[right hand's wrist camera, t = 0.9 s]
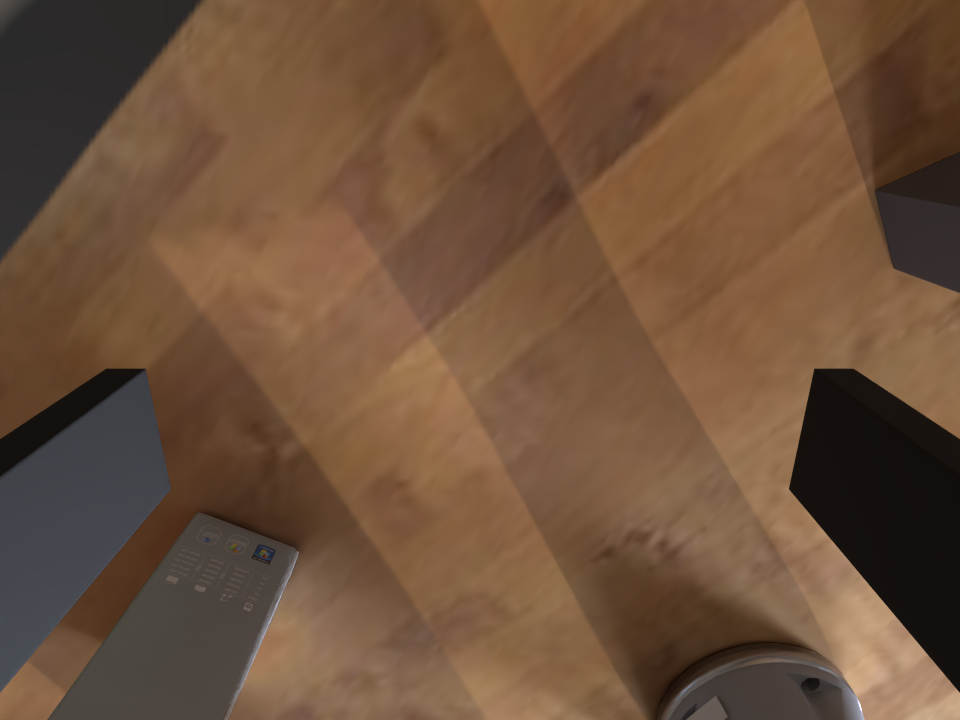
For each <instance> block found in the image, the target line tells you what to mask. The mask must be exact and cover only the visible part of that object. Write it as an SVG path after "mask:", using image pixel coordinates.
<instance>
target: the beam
mask: <svg viewBox="0 0 960 720" xmlns="http://www.w3.org/2000/svg"><path fill="white" fill-rule="evenodd" d="M875 193H876V197H877V201H878V205H879V210H880V214H881V218H882V222H883V226H884V230H885V235H886V239H887V243H888V247H889V251H890V255H891V259H892V264H893V268H894V269H896V270H899V271H901V272H904V273H907V274H909V275H912V276H915V277H918V278H920V279H923V280H926V281H928V282H931V283H934V284H936V285H939V286H942V287H945V288H947V289H950V290H953V291H955V292H958V293H960V152H959V153H956V154H954V155H952V156H950V157H948V158H945V159H943V160H941V161H939V162H936V163H934V164H932V165H930V166H928V167H925V168H923V169H921V170H919V171H916V172H914V173H912V174H910V175H907V176H905V177H903V178H901V179H899V180H896V181H894V182H892V183H890V184H887V185H885V186H883V187H881V188H879V189H876V190H875Z"/></svg>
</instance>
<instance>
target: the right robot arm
mask: <svg viewBox="0 0 960 720" xmlns="http://www.w3.org/2000/svg"><path fill="white" fill-rule="evenodd" d="M170 490H171V487H170V482H169V477H168V472H167V468H166V463H165V458H164V454H163V449H162V444H161V439H160V435H159V430H158V425H157V420H156V416H155V411H154V406H153V402H152V397H151V392H150V387H149V383H148V378H147V373H146V369H105V370H104V371H102V372H101V373H99V374H98V375H96V376H95V377H93V378H92V379H90V380H89V381H87V382H86V383H84V384H83V385H81V386H80V387H78V388H77V389H75V390H74V391H72V392H71V393H69V394H68V395H66V396H65V397H63V398H62V399H60V400H59V401H57V402H56V403H54V404H53V405H51V406H50V407H48V408H47V409H45V410H44V411H42V412H41V413H39V414H38V415H36V416H34V417H33V418H31V419H30V420H28V421H27V422H25V423H24V424H22V425H21V426H19V427H18V428H16V429H15V430H13V431H12V432H10V433H9V434H7V435H6V436H4V437H3V438H1V439H0V692H1V691H2V690H3V689H4V687H5V686H6V685H7V684H8V683H9V682H10V680H11V679H12V678H13V677H14V676H15V674H16V673H17V672H18V671H19V670H20V668H21V667H22V666H23V665H24V664H25V662H26V661H27V660H28V659H29V658H30V657H31V655H32V654H33V653H34V652H35V651H36V649H37V648H38V647H39V646H40V645H41V643H42V642H43V641H44V640H45V639H46V637H47V636H48V635H49V634H50V633H51V631H52V630H53V629H54V628H55V627H56V626H57V624H58V623H59V622H60V621H61V620H62V618H63V617H64V616H65V615H66V614H67V612H68V611H69V610H70V609H71V608H72V606H73V605H74V604H75V603H76V602H77V601H78V599H79V598H80V597H81V596H82V595H83V593H84V592H85V591H86V590H87V589H88V587H89V586H90V585H91V584H92V583H93V581H94V580H95V579H96V578H97V577H98V575H99V574H100V573H101V572H102V571H103V570H104V568H105V567H106V566H107V565H108V564H109V562H110V561H111V560H112V559H113V558H114V556H115V555H116V554H117V553H118V552H119V550H120V549H121V548H122V547H123V546H124V544H125V543H126V542H127V541H128V540H129V539H130V537H131V536H132V535H133V534H134V533H135V531H136V530H137V529H138V528H139V527H140V525H141V524H142V523H143V522H144V521H145V519H146V518H147V517H148V516H149V515H150V514H151V512H152V511H153V510H154V509H155V508H156V506H157V505H158V504H159V503H160V502H161V500H162V499H163V498H164V497H165V496H166V494H167V493H168V492H169V491H170ZM789 490H790V491H791V492H792V493H793V494H794V496H795V497H796V498H797V499H798V500H799V502H800V503H801V504H802V505H803V506H804V508H805V509H806V510H807V511H808V512H809V514H810V515H811V516H812V517H813V518H814V519H815V521H816V522H817V523H818V524H819V525H820V527H821V528H822V529H823V530H824V531H825V533H826V534H827V535H828V536H829V537H830V539H831V540H832V541H833V542H834V543H835V544H836V546H837V547H838V548H839V549H840V550H841V552H842V553H843V554H844V555H845V556H846V558H847V559H848V560H849V561H850V562H851V564H852V565H853V566H854V567H855V568H856V570H857V571H858V572H859V573H860V574H861V575H862V577H863V578H864V579H865V580H866V581H867V583H868V584H869V585H870V586H871V587H872V589H873V590H874V591H875V592H876V593H877V595H878V596H879V597H880V598H881V599H882V601H883V602H884V603H885V604H886V605H887V606H888V608H889V609H890V610H891V611H892V612H893V614H894V615H895V616H896V617H897V618H898V620H899V621H900V622H901V623H902V624H903V626H904V627H905V628H906V629H907V630H908V631H909V633H910V634H911V635H912V636H913V637H914V639H915V640H916V641H917V642H918V643H919V645H920V646H921V647H922V648H923V649H924V651H925V652H926V653H927V654H928V655H929V657H930V658H931V659H932V660H933V661H934V662H935V664H936V665H937V666H938V667H939V668H940V670H941V671H942V672H943V673H944V674H945V676H946V677H947V678H948V679H949V680H950V682H951V683H952V684H953V685H954V686H955V687H956V689H957V690H958V691H959V692H960V439H959V438H957V437H956V436H954V435H953V434H951V433H950V432H948V431H947V430H945V429H944V428H942V427H941V426H939V425H938V424H936V423H935V422H933V421H932V420H930V419H929V418H927V417H926V416H924V415H922V414H921V413H919V412H918V411H916V410H915V409H913V408H912V407H910V406H909V405H907V404H906V403H904V402H903V401H901V400H900V399H898V398H897V397H895V396H894V395H892V394H891V393H889V392H888V391H886V390H885V389H883V388H882V387H880V386H879V385H877V384H876V383H874V382H873V381H871V380H870V379H868V378H867V377H865V376H864V375H862V374H861V373H859V372H858V371H856V370H855V369H814V373H813V378H812V383H811V387H810V392H809V397H808V402H807V406H806V411H805V416H804V420H803V425H802V430H801V435H800V439H799V444H798V449H797V454H796V458H795V463H794V468H793V472H792V477H791V482H790V487H789ZM657 720H864V717H863V713H862V710H861V706H860V703H859V701H858V699H857V697H856V695H855V694H854V692H853V690H852V689H851V687H850V686H849V684H848V683H847V681H846V680H845V678H844V677H843V675H842V674H841V672H840V671H839V670H838V669H837V667H836V666H835V665H833V664H832V663H831V662H830V661H829V660H827V659H826V658H824V657H823V656H821V655H819V654H817V653H815V652H813V651H811V650H808V649H805V648H802V647H798V646H794V645H788V644H778V643H760V644H750V645H744V646H739V647H735V648H731V649H728V650H724V651H722V652H719V653H716V654H714V655H712V656H710V657H708V658H705V659H704V660H702V661H700V662H698V663H697V664H695V665H694V666H692V667H691V668H689V669H688V670H687V671H685V672H684V673H683V674H682V675H681V676H680V677H679V678H678V679H677V680H676V681H675V682H674V683H673V684H672V685H671V686H670V688H669V689H668V691H667V692H666V694H665V696H664V697H663V699H662V702H661V704H660V706H659V710H658V715H657Z"/></svg>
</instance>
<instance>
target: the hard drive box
mask: <svg viewBox="0 0 960 720" xmlns="http://www.w3.org/2000/svg"><path fill="white" fill-rule="evenodd" d="M298 555H299V552H298V551H296V549H295V548H294V547H291V546H289V545H286V544H284V543H281V542H278V541H275V540H273V539H270V538H267V537H265V536H262V535H259V534H257V533H254V532H252V531H249V530H246V529H244V528H241V527H238V526H235V525H233V524H230V523H228V522H225V521H222V520H220V519H217V518H214V517H212V516H209V515H206V514H203V513H200V512H199V513H196V515H195V516H194V517H193V519H192V520H191V521H190V523H189V524H188V525H187V527H186V528H185V529H184V531H183V532H182V534H181V535H180V536H179V538H178V539H177V540H176V542H175V543H174V544H173V546H172V547H171V548H170V550H169V551H168V553H167V554H166V555H165V557H164V558H163V560H162V561H161V563H160V564H159V565H158V567H157V568H156V569H155V571H154V572H153V573H152V575H151V576H150V578H149V579H148V580H147V582H146V583H145V585H144V586H143V587H142V589H141V590H140V592H139V593H138V594H137V596H136V597H135V599H134V600H133V601H132V603H131V604H130V606H129V607H128V608H127V610H126V611H125V613H124V614H123V615H122V617H121V618H120V620H119V621H118V622H117V624H116V625H115V627H114V628H113V629H112V631H111V632H110V634H109V635H108V636H107V638H106V639H105V641H104V642H103V643H102V645H101V646H100V647H99V649H98V650H97V652H96V653H95V654H94V656H93V657H92V659H91V660H90V661H89V663H88V664H87V666H86V667H85V668H84V670H83V671H82V673H81V674H80V675H79V677H78V678H77V679H76V681H75V682H74V684H73V685H72V686H71V688H70V689H69V691H68V692H67V693H66V695H65V696H64V697H63V699H62V700H61V702H60V703H59V704H58V706H57V707H56V709H55V710H54V711H53V713H52V714H51V715H50V717H49V718H48V720H228V719H229V716H230V714H231V712H232V709H233V707H234V705H235V702H236V700H237V698H238V695H239V693H240V691H241V688H242V686H243V684H244V682H245V679H246V677H247V675H248V672H249V670H250V668H251V665H252V663H253V661H254V658H255V656H256V654H257V652H258V649H259V647H260V645H261V642H262V640H263V638H264V635H265V633H266V631H267V628H268V626H269V624H270V622H271V619H272V617H273V615H274V612H275V610H276V608H277V605H278V603H279V601H280V598H281V596H282V594H283V591H284V589H285V587H286V584H287V582H288V580H289V577H290V575H291V573H292V570H293V568H294V565H295V563H296V560H297V558H298Z"/></svg>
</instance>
